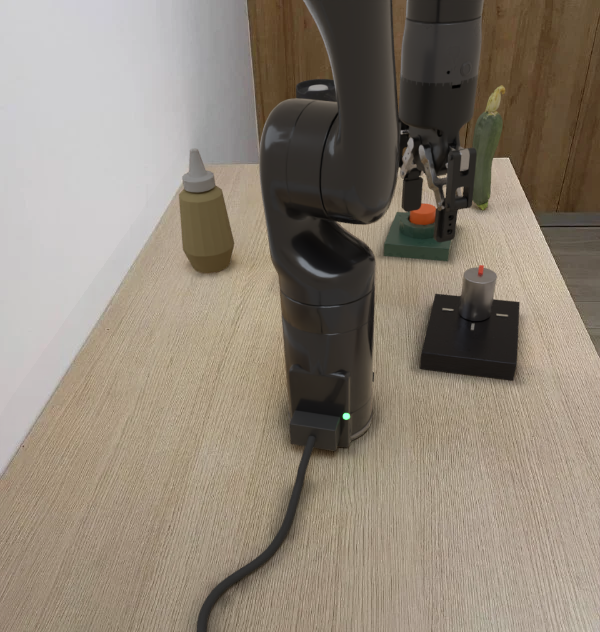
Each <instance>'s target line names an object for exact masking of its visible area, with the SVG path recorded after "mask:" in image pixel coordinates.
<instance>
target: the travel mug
mask: <svg viewBox="0 0 600 632" xmlns="http://www.w3.org/2000/svg"><path fill="white" fill-rule="evenodd" d="M295 98H299V99H312V100H322V101H332V102H337V97H336V91H335V84H334V79H329V78H314V79H313V78H312V79H307V80H304V81H303V80H302V81H300V82H299V83H297V84H296V85H295Z"/></svg>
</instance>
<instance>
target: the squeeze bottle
mask: <svg viewBox="0 0 600 632" xmlns="http://www.w3.org/2000/svg"><path fill="white" fill-rule="evenodd" d="M199 150H200V149H198V148H190V150H189V159H188V160H189V163H188V172H186V173H184V174H183V175H182V176H181V180H182V186H183V188H182V190H181V192H179V193H178V202H179V204H178V205H179V216H180V230H181V243H182V251H183V253H184V255H185V256H186V258H187V260H188V261H189V263H190V265H191V266H192V269H194V270H195V271H196V272H197V273H201V274H214V273H219V272H222V271H224V270H226V269H227V268H228V267H229V266H230V264H231V261H232V256H233V251H234V247H235V241H234V236H233V231H232V226H231V223H230V218H229V214H228V210H227V205H226V202H225V201H226V200H225V196H224V193H223V189H222V188H220V187H219V186H218V185H216V180H215V179H216V178H215V174H214V172H212V171H211V170H207V169H206V167H205V164H204V162H203V158H202V156H201V153H200V151H199Z"/></svg>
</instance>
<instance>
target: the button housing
mask: <svg viewBox="0 0 600 632" xmlns="http://www.w3.org/2000/svg"><path fill="white" fill-rule="evenodd" d="M434 225H435V222H434V223H432V224H428V225H418V224H414V223H411V222H410V211H409V212H406V211H396V213H395V215H394V217H393V220H392V223H391V225H390V228H389V230H388V234H387V235H386V238H385V241H384V242H383V257H392V258H403V259H415V260H425V261H436V262H437V261H439V262H449V259H450V255H451V249H452V246H453V242H454V238H453V239H452V240H450V241H445V242H440V243H439V242H437V241H436V240H435V239H434Z"/></svg>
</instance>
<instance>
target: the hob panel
mask: <svg viewBox="0 0 600 632" xmlns="http://www.w3.org/2000/svg"><path fill="white" fill-rule="evenodd" d="M460 298H461V295H453V294H443V293H434V297H433V301H432V304H431V305H432V306H431V309H430V314H429V318H428V323H427V325H426V326H427V327H426V331H425V334H424V338H423V344H422V347H421V352H420V361H419V362H420V363H419V369H420V370H424V371H425V370H427V371H435V372H442V373H450V374H458V375H464V376H465V375H466V376H473V377H481V378H490V379H497V380H504V381H512V382H513V381H514V380H515V375H516V370H517V367H518V352H519V351H518V350H519V349H518V348H519V347H518V346H519V329H520V328H519V325H520V307H521V306H520V304H521V303H520V301H516V300H515V301H514V300H504V299H494V298H493V304H492V310H491V315H490V317H489V318H487V319H486V320H482V321H471V320H467V319H465V318H463V317H462V316H461V315H460V314H459V306H460Z"/></svg>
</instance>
